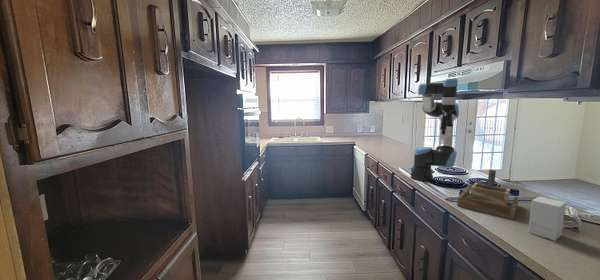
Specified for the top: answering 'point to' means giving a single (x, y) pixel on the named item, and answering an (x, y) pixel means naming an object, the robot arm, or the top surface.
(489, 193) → the crate
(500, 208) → the bay
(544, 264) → the top surface
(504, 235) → the top surface
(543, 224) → the supplement box
